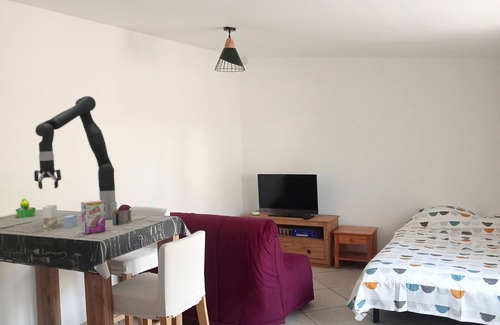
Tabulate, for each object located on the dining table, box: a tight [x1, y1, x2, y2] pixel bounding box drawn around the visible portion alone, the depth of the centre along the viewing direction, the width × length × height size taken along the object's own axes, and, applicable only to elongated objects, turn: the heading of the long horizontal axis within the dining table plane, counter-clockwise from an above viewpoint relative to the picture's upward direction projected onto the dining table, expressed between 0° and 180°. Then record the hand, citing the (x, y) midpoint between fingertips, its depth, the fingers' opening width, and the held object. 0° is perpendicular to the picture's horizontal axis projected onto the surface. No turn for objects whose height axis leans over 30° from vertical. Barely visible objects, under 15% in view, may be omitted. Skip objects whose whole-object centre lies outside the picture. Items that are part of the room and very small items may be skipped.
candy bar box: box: [80, 199, 106, 235], centre depth 260 cm, size 11×5×16 cm, turn 131°
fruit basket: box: [15, 198, 37, 219], centre depth 318 cm, size 11×9×11 cm
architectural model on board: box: [111, 208, 132, 227], centre depth 283 cm, size 11×3×10 cm, turn 144°
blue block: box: [62, 214, 78, 229], centre depth 279 cm, size 4×8×6 cm, turn 178°
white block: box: [42, 204, 58, 219], centre depth 279 cm, size 4×8×6 cm, turn 178°
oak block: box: [42, 215, 58, 229], centre depth 279 cm, size 4×8×6 cm, turn 178°
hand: (48, 188), depth 277 cm, fingers open, 8 cm apart
